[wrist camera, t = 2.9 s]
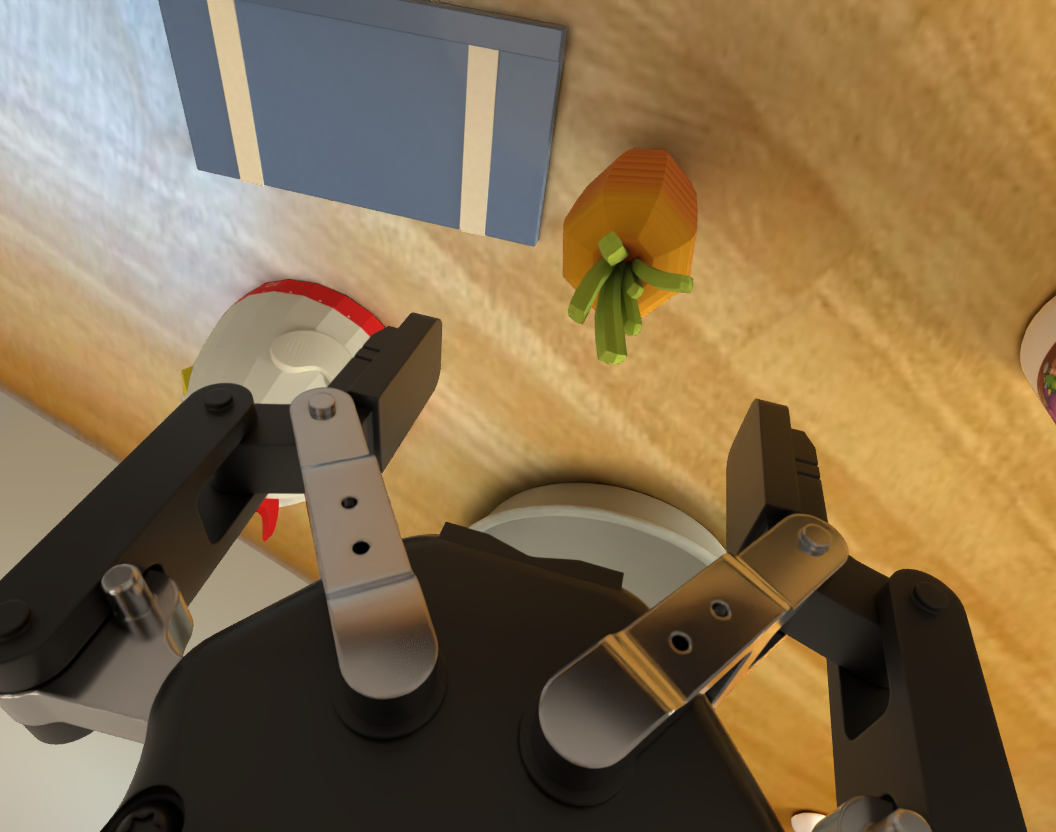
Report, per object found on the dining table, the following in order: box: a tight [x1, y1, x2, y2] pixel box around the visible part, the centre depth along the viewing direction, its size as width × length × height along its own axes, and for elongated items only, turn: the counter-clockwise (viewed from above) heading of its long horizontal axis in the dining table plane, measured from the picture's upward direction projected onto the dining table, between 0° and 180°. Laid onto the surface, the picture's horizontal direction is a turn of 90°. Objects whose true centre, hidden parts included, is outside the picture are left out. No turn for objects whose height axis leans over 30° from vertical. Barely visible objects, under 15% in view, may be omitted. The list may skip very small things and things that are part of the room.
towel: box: [158, 0, 568, 246], centre depth 30 cm, size 10×20×1 cm, turn 83°
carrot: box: [563, 148, 697, 364], centre depth 23 cm, size 5×5×15 cm
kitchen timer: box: [181, 279, 385, 542], centre depth 37 cm, size 14×14×15 cm
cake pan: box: [468, 483, 727, 608], centre depth 48 cm, size 25×25×4 cm
